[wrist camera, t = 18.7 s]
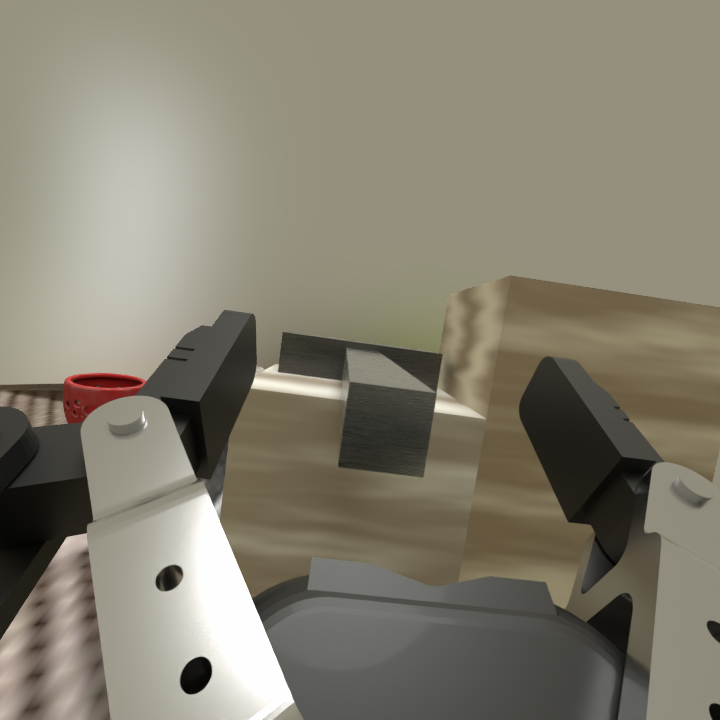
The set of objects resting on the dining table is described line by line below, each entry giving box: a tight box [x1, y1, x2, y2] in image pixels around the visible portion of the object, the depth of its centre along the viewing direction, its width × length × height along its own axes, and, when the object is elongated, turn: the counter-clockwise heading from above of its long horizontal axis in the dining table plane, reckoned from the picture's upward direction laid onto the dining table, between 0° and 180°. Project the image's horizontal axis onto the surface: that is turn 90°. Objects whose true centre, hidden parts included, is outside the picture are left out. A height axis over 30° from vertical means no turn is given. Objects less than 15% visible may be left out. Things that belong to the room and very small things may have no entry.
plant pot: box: [63, 373, 146, 424], centre depth 70 cm, size 13×13×12 cm
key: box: [278, 331, 443, 478], centre depth 20 cm, size 20×12×3 cm, turn 2°
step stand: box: [220, 276, 720, 609], centre depth 27 cm, size 12×28×32 cm, turn 92°
